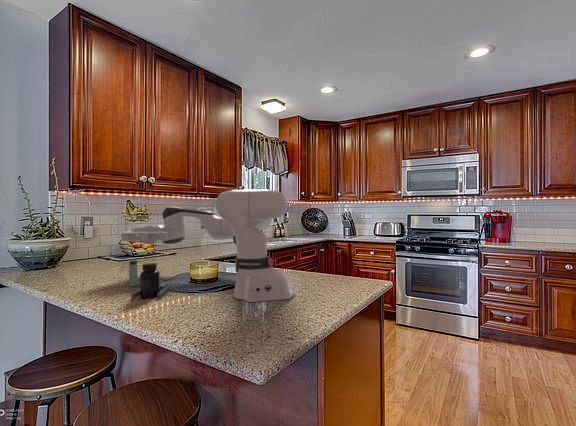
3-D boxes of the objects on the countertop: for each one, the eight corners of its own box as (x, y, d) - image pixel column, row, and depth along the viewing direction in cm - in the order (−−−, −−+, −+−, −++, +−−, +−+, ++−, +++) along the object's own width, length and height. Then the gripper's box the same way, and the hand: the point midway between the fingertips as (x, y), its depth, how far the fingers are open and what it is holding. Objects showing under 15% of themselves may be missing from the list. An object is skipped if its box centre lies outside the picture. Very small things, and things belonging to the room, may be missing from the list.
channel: (168, 292, 124) (168, 287, 124) (160, 298, 116) (160, 293, 116) (140, 293, 124) (140, 288, 124) (131, 299, 116) (131, 293, 116)
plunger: (174, 283, 137) (173, 260, 137) (163, 292, 124) (163, 265, 124) (131, 284, 137) (131, 260, 136) (116, 292, 124) (116, 266, 124)
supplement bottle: (164, 295, 121) (163, 263, 121) (147, 299, 115) (146, 266, 115) (152, 292, 125) (152, 261, 125) (136, 297, 119) (135, 264, 119)
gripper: (173, 240, 155) (162, 244, 141) (130, 241, 155) (115, 245, 141) (172, 227, 155) (162, 230, 141) (129, 228, 154) (115, 230, 141)
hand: (138, 237), depth 141 cm, fingers closed
